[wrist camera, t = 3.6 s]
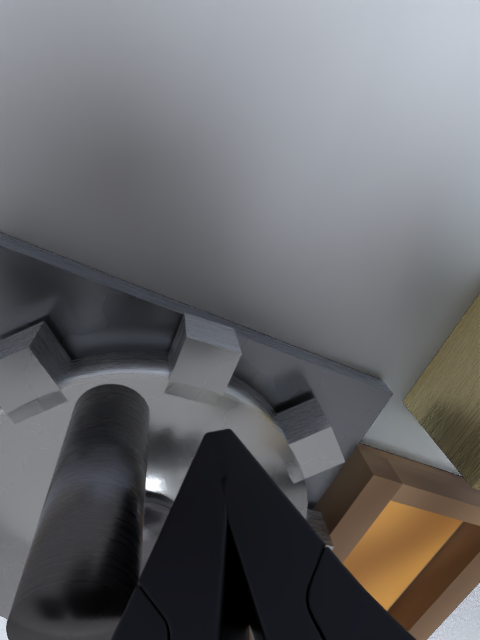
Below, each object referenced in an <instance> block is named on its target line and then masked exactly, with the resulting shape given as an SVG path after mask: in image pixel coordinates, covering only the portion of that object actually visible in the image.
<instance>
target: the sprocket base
mask: <svg viewBox="0 0 480 640" xmlns="http://www.w3.org/2000/svg"><path fill="white" fill-rule="evenodd" d="M184 313H187V314H190V315H193V316H197V317H200V318H203V319H206V320H209V321H212V322H216V323H219V324H222V325H225V326H228V327H232V328H234V330H235V333H236V336H237V339H238V342H239V346H240V349H241V352H242V355H241V357H240V359H239V361H238V364H237V366H236V368H235V370H234V372H233V374H232V375H234V376H235V377H237V378H239V379H240V380H242V381H244V382H245V383H247V384H248V385H249V386H250V387H252V388H253V389H254V390H255V391H257V392H258V393H259V394H260V395H261V396H262V397H263V398H264V399H265V400H266V401H267V402H268V403H269V404H270V405H271V407H272V408H273V409H274V410H275V412H276V413H279V412H282V411H284V410H286V409H289V408H291V407H293V406H296V405H298V404H300V403H303V402H305V401H307V400H310V399H312V398H314V397H316V399H317V400H318V402H319V404H320V406H321V408H322V410H323V412H324V414H325V416H326V418H327V420H328V422H329V423H330V425H331V427H332V430H333V432H334V435H335V437H336V440H337V442H338V445H339V447H340V450H341V452H342V455H343V457H344V460H345V462H346V461H347V460H348V458H349V457H350V455H351V454H352V452H353V451H354V449H355V448H356V447H357V445H358V444H359V442H360V441H361V439H362V438H363V436H364V435H365V433H366V432H367V431H368V429H369V428H370V426H371V425H372V423H373V422H374V420H375V419H376V418H377V416H378V415H379V413H380V412H381V410H382V409H383V407H384V406H385V405H386V403H387V402H388V400H389V399H390V397H391V396H392V394H393V393H392V392H391V391H390V390H389V388H388V387H387V386H386V385H385V383H384V382H383V381H382V380H380V379H378V378H375V377H373V376H370V375H367V374H365V373H362V372H360V371H357V370H354V369H352V368H349V367H347V366H344V365H342V364H339V363H336V362H334V361H331V360H329V359H326V358H323V357H321V356H318V355H316V354H313V353H310V352H308V351H305V350H303V349H300V348H298V347H295V346H292V345H290V344H287V343H285V342H282V341H279V340H277V339H274V338H272V337H269V336H266V335H264V334H261V333H259V332H256V331H254V330H251V329H248V328H246V327H243V326H241V325H238V324H235V323H233V322H230V321H228V320H225V319H222V318H220V317H217V316H215V315H212V314H209V313H207V312H204V311H202V310H199V309H197V308H194V307H191V306H189V305H186V304H184V303H181V302H178V301H176V300H173V299H171V298H168V297H165V296H163V295H160V294H158V293H155V292H153V291H150V290H147V289H145V288H142V287H140V286H137V285H134V284H132V283H129V282H127V281H124V280H121V279H119V278H116V277H114V276H111V275H109V274H106V273H103V272H101V271H98V270H96V269H93V268H90V267H88V266H85V265H83V264H80V263H77V262H75V261H72V260H70V259H67V258H65V257H62V256H59V255H57V254H54V253H52V252H49V251H46V250H44V249H41V248H39V247H36V246H33V245H31V244H28V243H26V242H23V241H21V240H18V239H15V238H13V237H10V236H8V235H5V234H2V233H0V340H2V339H4V338H6V337H9V336H11V335H13V334H15V333H18V332H20V331H22V330H24V329H27V328H29V327H31V326H33V325H36V324H38V323H40V322H42V321H45V322H46V324H47V325H48V327H49V328H50V330H51V331H52V333H53V334H54V335H55V337H56V338H57V340H58V341H59V343H60V344H61V345H62V347H63V348H64V350H65V351H66V353H67V354H68V356H69V357H70V358H71V360H73V359H77V358H80V357H84V356H88V355H95V354H101V353H107V352H117V351H152V352H164V353H169V351H170V348H171V346H172V343H173V340H174V338H175V335H176V333H177V330H178V328H179V325H180V323H181V320H182V318H183V315H184ZM345 462H344V463H341V464H339V465H337V466H334V467H332V468H330V469H327V470H325V471H322V472H320V473H318V474H315V475H313V476H311V477H308V478H306V479H305V483H306V488H307V502H308V507H307V509H311V510H313V509H314V507H315V506H316V504H317V503H318V501H319V500H320V499H321V497H322V496H323V494H324V493H325V491H326V490H327V488H328V487H329V486H330V484H331V483H332V481H333V480H334V478H335V477H336V475H337V474H338V473H339V471H340V470H341V468H342V467H343V465H344V464H345Z"/></svg>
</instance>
